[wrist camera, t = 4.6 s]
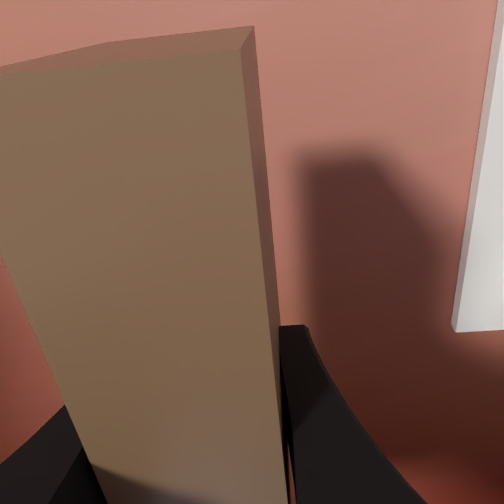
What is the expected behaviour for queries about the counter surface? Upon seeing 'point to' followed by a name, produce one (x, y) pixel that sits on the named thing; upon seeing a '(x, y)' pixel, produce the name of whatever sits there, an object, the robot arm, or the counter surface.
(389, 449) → the counter surface
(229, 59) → the frame bar
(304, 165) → the counter surface
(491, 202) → the display stand
